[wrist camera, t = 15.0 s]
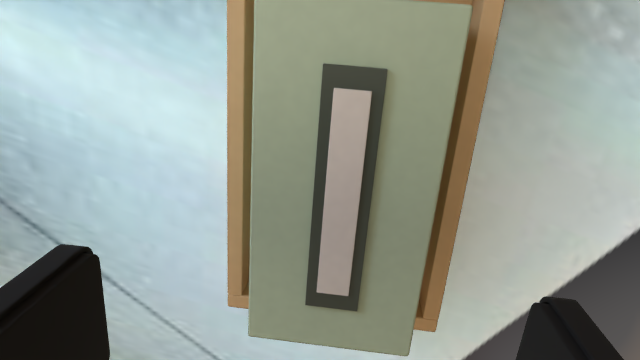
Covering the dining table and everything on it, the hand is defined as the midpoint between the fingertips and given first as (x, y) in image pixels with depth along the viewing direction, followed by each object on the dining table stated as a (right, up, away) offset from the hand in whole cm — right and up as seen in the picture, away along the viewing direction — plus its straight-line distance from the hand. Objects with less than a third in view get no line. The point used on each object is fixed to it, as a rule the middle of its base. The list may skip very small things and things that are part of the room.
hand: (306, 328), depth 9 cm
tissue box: (+2, +5, +12) cm, 13 cm away
